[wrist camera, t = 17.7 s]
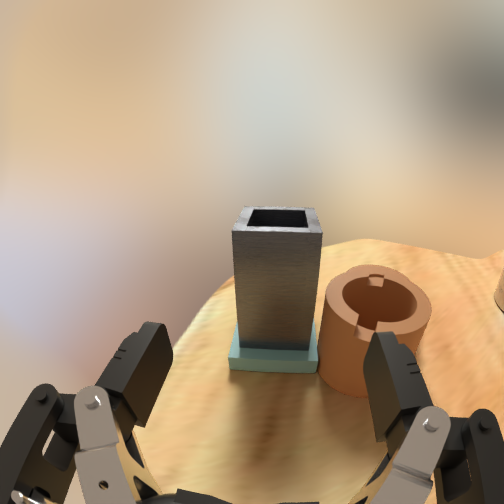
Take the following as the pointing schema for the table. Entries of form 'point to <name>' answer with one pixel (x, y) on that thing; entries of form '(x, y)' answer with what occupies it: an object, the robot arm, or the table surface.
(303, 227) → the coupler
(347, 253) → the table surface
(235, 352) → the shaft mount
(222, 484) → the table surface
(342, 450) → the table surface
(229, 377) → the table surface
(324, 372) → the bracket
